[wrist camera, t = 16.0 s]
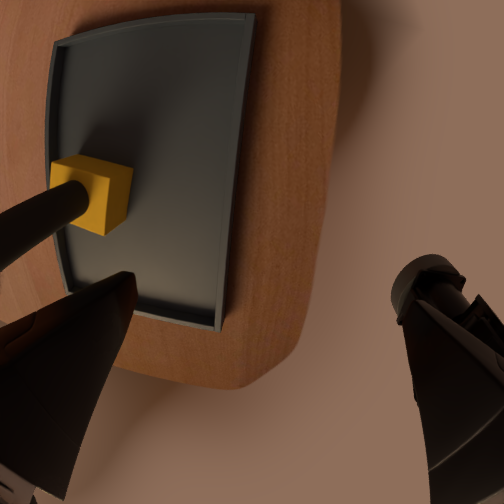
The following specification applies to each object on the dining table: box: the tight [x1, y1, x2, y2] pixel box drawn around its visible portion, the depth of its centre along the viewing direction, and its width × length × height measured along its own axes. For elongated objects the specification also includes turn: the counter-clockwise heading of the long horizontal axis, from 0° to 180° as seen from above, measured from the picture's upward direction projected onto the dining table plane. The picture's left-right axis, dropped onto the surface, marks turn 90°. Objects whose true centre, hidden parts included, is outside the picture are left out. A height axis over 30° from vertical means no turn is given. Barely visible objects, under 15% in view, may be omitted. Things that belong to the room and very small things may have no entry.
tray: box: [45, 12, 258, 332], centre depth 20 cm, size 17×25×2 cm
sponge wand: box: [0, 154, 133, 272], centre depth 15 cm, size 6×4×13 cm
